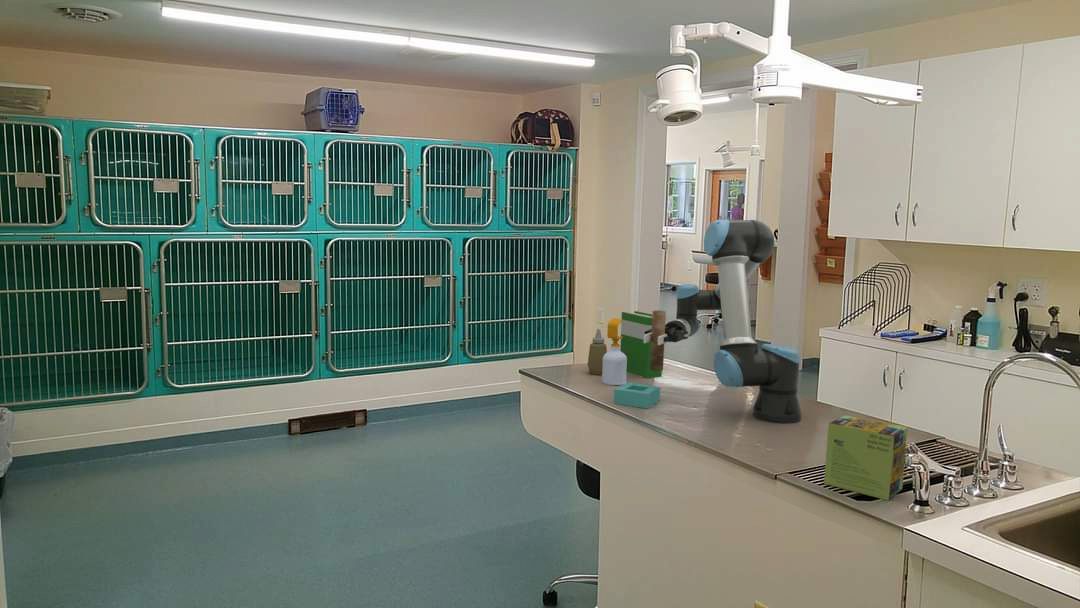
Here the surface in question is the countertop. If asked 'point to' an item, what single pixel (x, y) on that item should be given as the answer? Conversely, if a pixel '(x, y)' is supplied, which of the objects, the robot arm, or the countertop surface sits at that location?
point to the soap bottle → (614, 358)
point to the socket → (637, 395)
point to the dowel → (657, 331)
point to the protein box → (865, 456)
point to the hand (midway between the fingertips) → (651, 339)
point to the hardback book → (637, 343)
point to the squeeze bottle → (596, 354)
